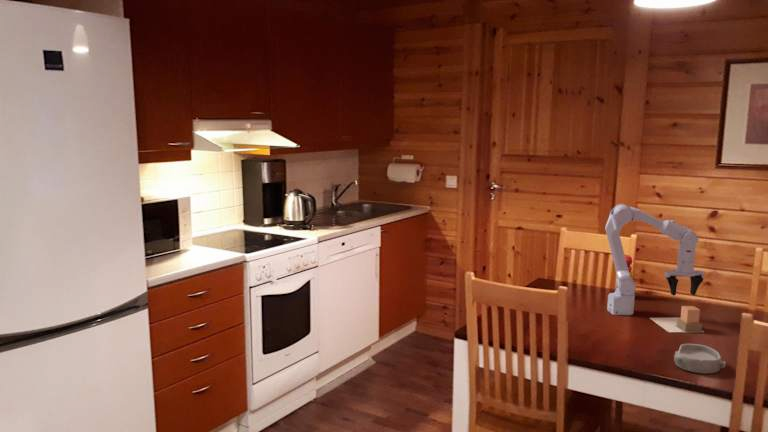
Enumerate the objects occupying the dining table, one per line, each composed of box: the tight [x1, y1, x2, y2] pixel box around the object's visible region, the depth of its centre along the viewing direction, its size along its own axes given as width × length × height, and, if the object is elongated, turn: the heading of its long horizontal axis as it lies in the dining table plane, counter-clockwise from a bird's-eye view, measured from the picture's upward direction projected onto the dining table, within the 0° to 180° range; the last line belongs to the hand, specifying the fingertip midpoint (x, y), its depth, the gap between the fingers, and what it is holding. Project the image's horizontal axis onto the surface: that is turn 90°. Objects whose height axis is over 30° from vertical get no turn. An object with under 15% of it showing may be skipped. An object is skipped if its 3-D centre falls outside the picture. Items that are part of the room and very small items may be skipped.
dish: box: [673, 343, 727, 374], centre depth 185 cm, size 14×14×5 cm
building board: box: [649, 316, 705, 334], centre depth 218 cm, size 13×16×4 cm
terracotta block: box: [680, 305, 701, 323], centre depth 214 cm, size 4×4×5 cm
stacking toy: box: [615, 254, 634, 290], centre depth 253 cm, size 8×8×19 cm
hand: (682, 294), depth 226 cm, fingers open, 7 cm apart
